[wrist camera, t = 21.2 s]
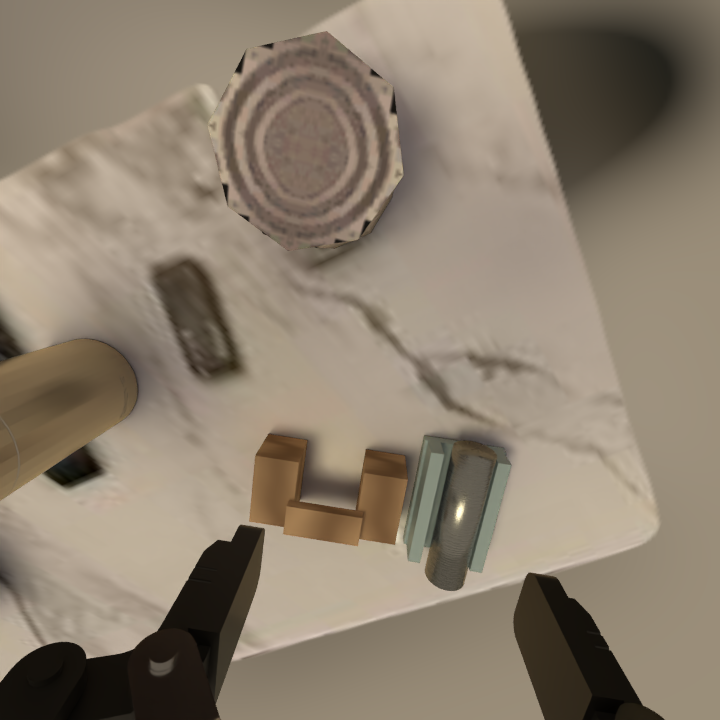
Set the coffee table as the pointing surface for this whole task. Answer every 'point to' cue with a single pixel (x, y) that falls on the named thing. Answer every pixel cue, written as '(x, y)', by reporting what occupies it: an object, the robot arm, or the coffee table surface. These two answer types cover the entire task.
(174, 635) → the robot arm
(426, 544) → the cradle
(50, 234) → the coffee table surface
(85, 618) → the coffee table surface
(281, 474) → the brown h-shaped block
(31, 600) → the coffee table surface
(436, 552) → the axle
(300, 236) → the can
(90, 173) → the coffee table surface
